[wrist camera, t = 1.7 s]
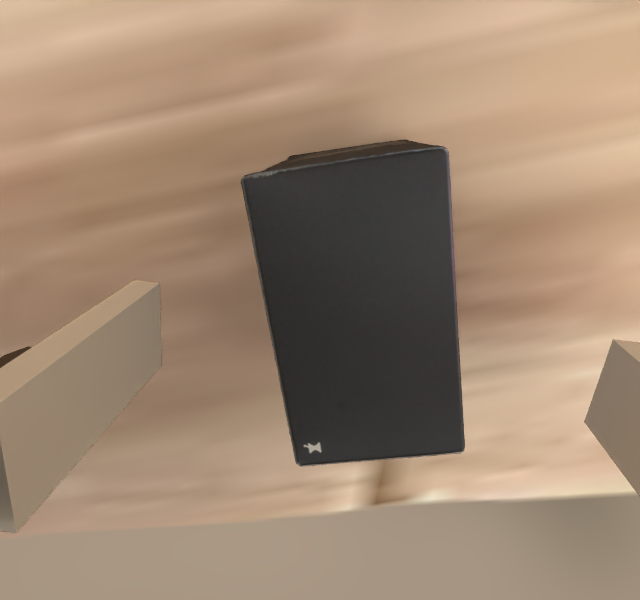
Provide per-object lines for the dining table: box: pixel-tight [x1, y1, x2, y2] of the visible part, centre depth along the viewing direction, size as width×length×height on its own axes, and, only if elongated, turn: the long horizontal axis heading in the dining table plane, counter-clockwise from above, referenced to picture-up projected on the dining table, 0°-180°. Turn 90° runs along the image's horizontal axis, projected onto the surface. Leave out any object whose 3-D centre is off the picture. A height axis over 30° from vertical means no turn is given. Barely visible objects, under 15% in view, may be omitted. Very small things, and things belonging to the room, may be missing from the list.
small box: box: [241, 140, 465, 467], centre depth 20 cm, size 11×6×10 cm, turn 8°
